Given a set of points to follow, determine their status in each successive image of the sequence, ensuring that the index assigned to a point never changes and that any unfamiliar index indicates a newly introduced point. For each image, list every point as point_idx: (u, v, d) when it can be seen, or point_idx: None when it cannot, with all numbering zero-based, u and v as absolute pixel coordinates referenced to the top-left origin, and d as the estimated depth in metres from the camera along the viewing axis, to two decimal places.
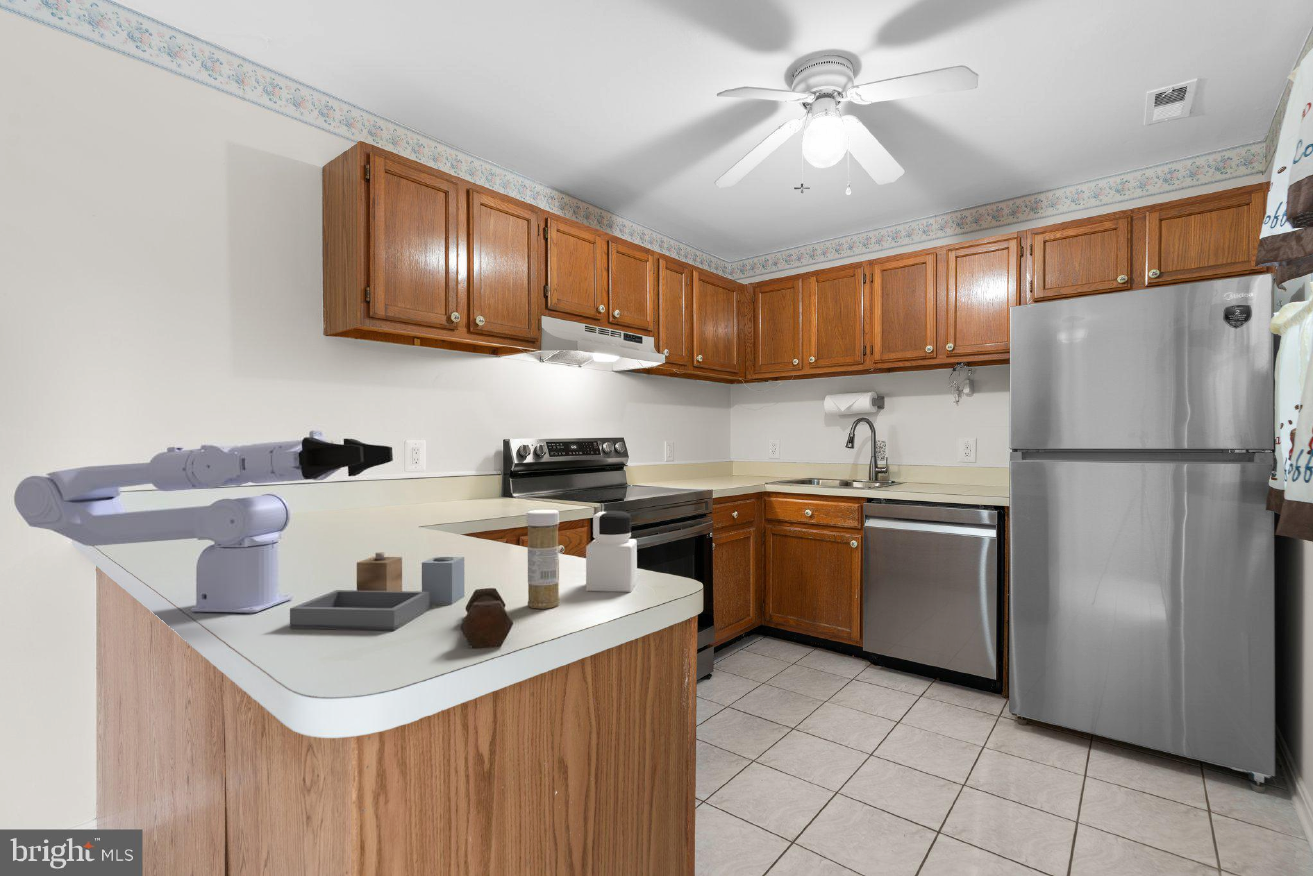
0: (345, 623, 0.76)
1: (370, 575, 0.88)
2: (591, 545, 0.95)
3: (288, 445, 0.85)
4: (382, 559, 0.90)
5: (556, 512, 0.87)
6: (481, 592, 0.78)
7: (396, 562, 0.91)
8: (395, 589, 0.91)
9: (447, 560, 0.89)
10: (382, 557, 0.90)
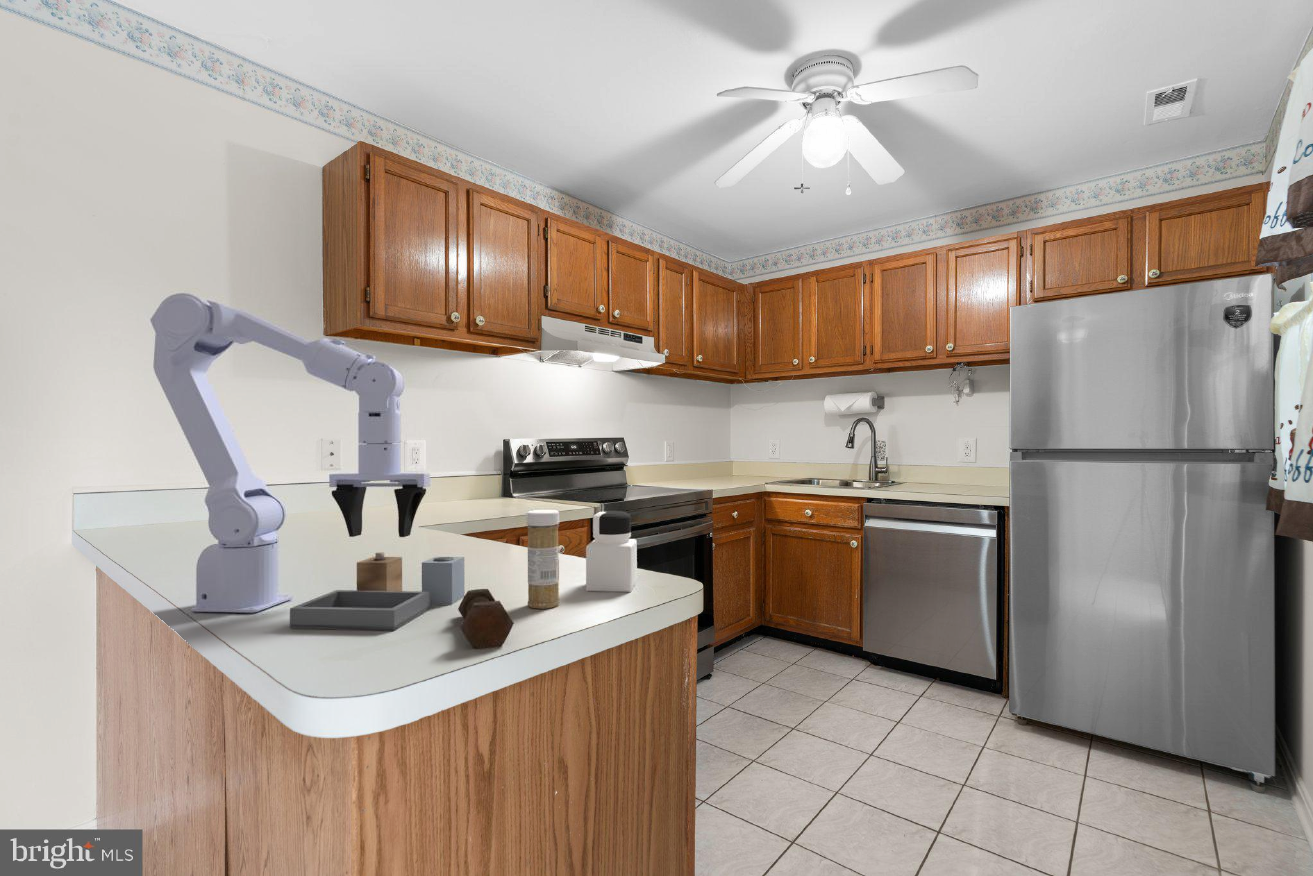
0: (345, 623, 0.76)
1: (370, 575, 0.88)
2: (591, 545, 0.95)
3: None
4: (382, 559, 0.90)
5: (556, 512, 0.87)
6: (475, 593, 0.78)
7: (396, 562, 0.91)
8: (395, 589, 0.91)
9: (447, 560, 0.89)
10: (382, 557, 0.90)
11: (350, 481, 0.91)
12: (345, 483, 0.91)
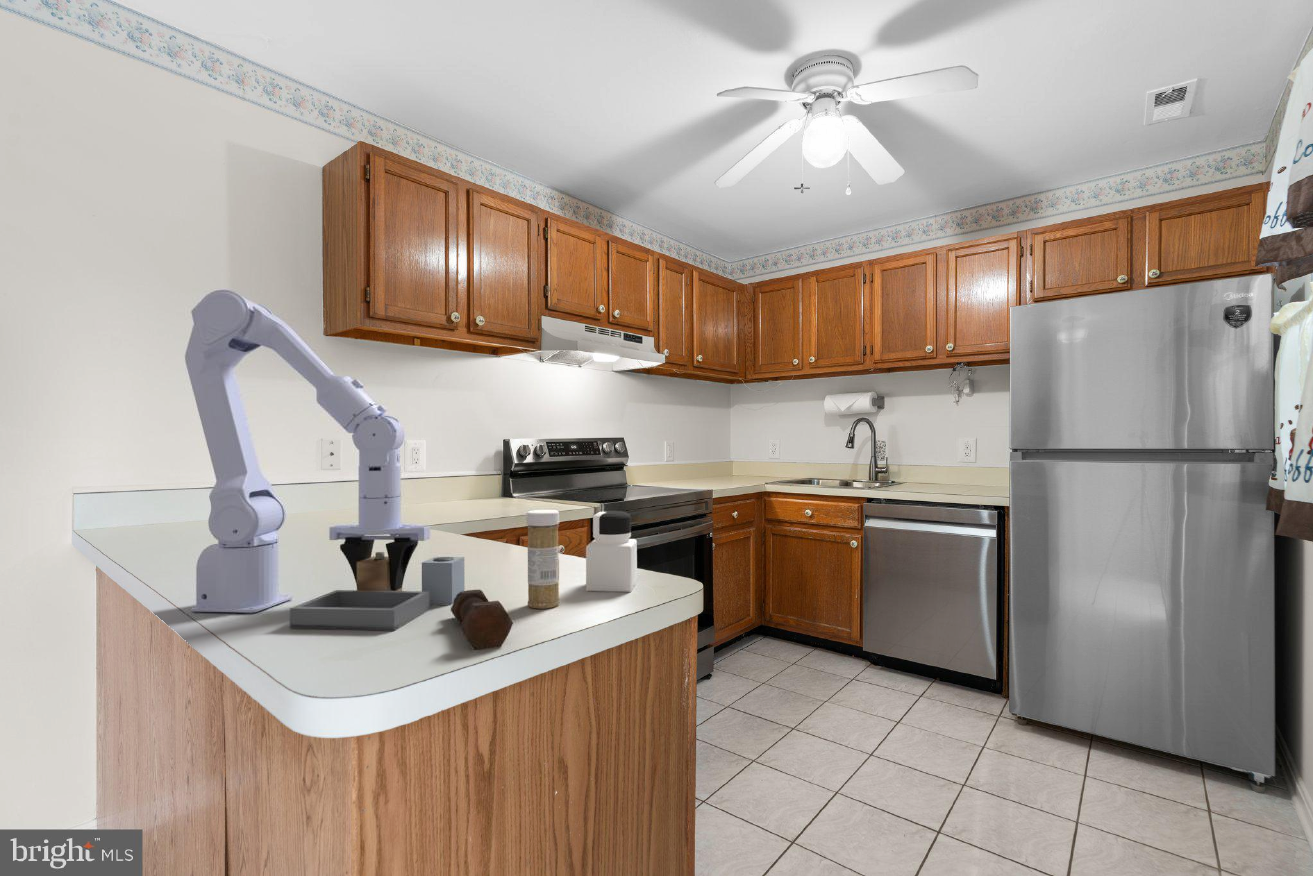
0: (345, 623, 0.76)
1: (370, 574, 0.88)
2: (591, 545, 0.95)
3: None
4: (382, 559, 0.90)
5: (556, 512, 0.87)
6: (468, 594, 0.77)
7: None
8: None
9: (447, 560, 0.89)
10: (382, 557, 0.90)
11: (350, 534, 0.91)
12: (345, 536, 0.91)
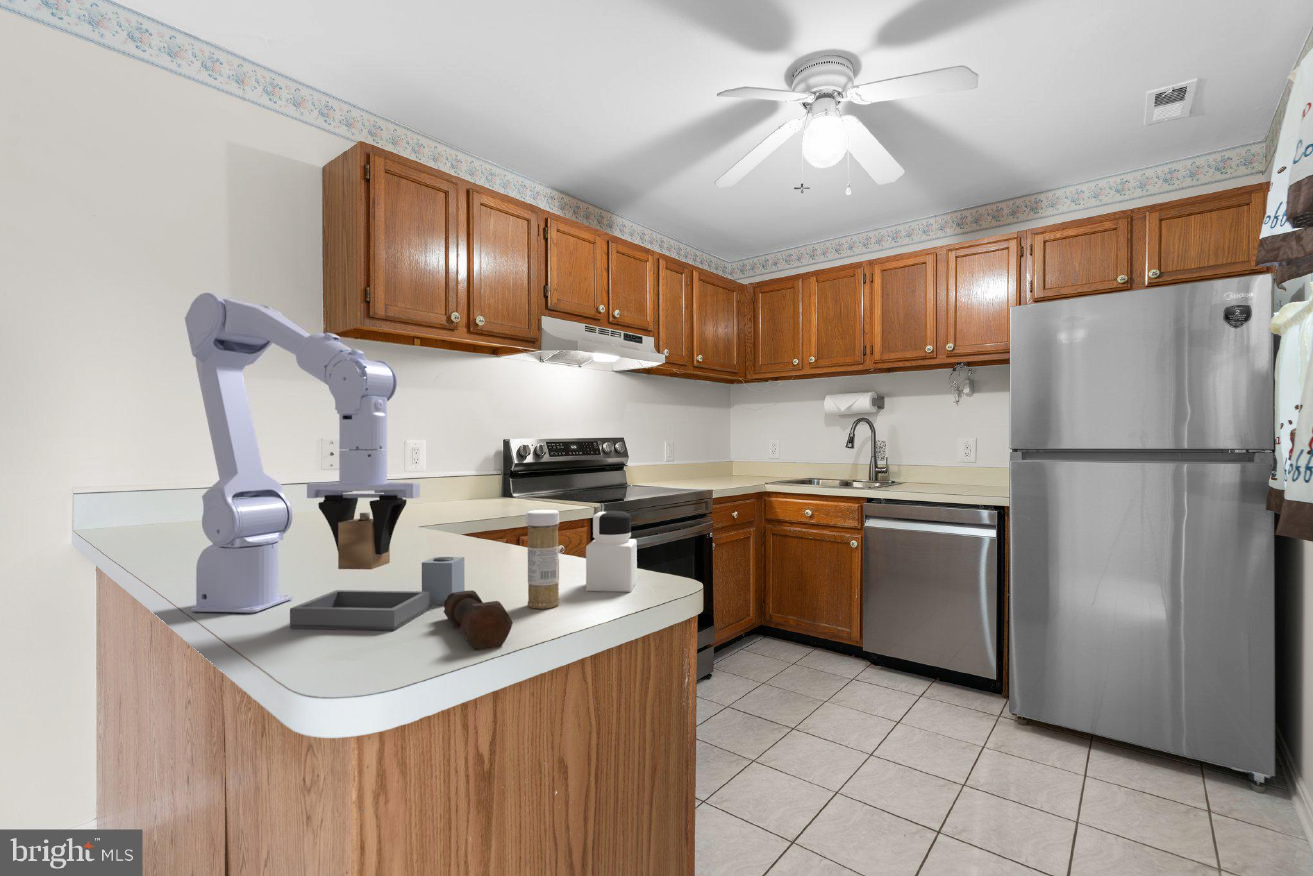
0: (345, 623, 0.76)
1: (354, 536, 0.79)
2: (591, 545, 0.95)
3: None
4: (367, 520, 0.81)
5: (556, 512, 0.87)
6: (462, 595, 0.77)
7: None
8: None
9: (447, 560, 0.89)
10: (367, 517, 0.81)
11: (330, 491, 0.81)
12: (324, 494, 0.81)
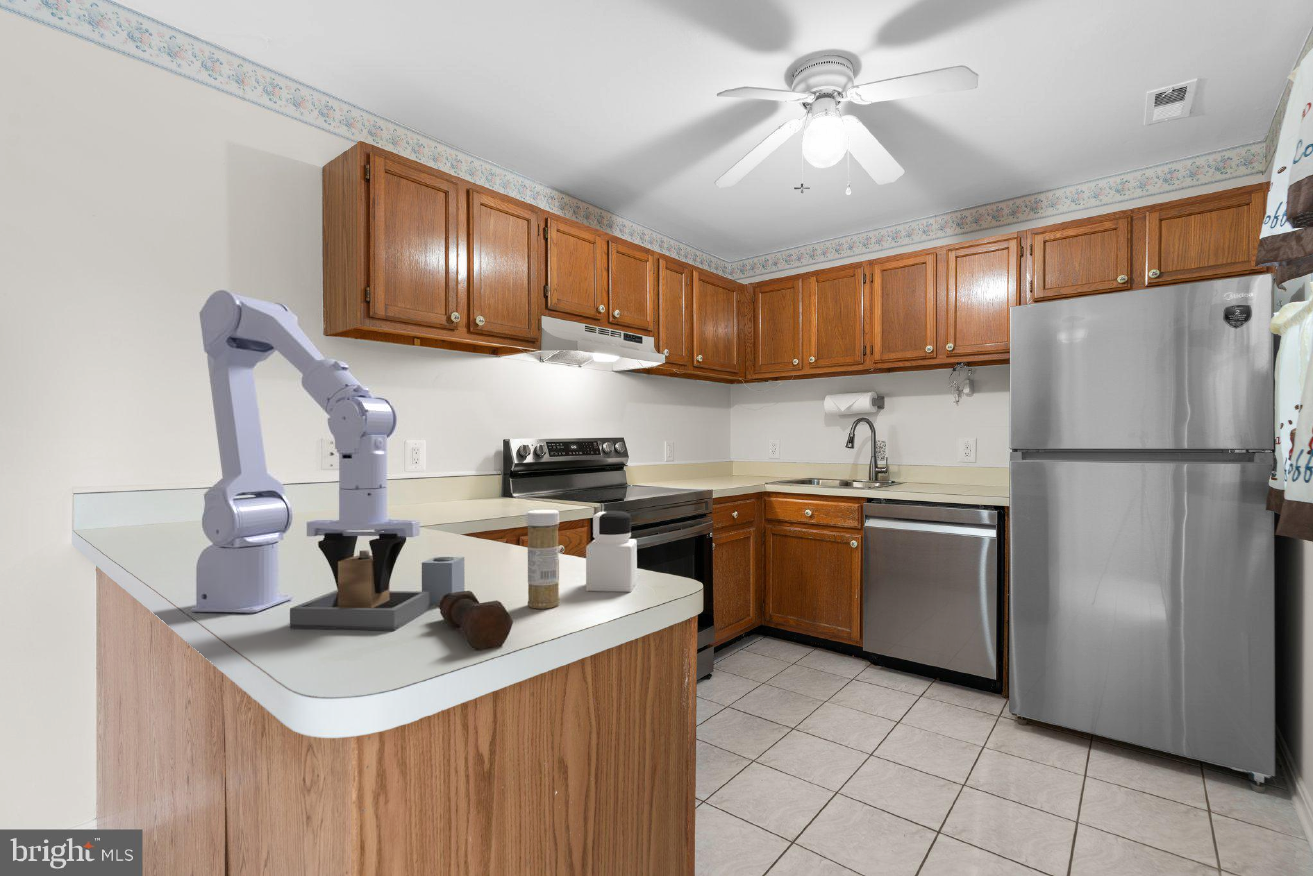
0: (345, 623, 0.76)
1: (353, 575, 0.79)
2: (591, 545, 0.95)
3: None
4: (367, 558, 0.81)
5: (556, 512, 0.87)
6: (459, 595, 0.77)
7: None
8: None
9: (447, 560, 0.89)
10: (367, 555, 0.81)
11: (330, 529, 0.81)
12: (324, 532, 0.81)
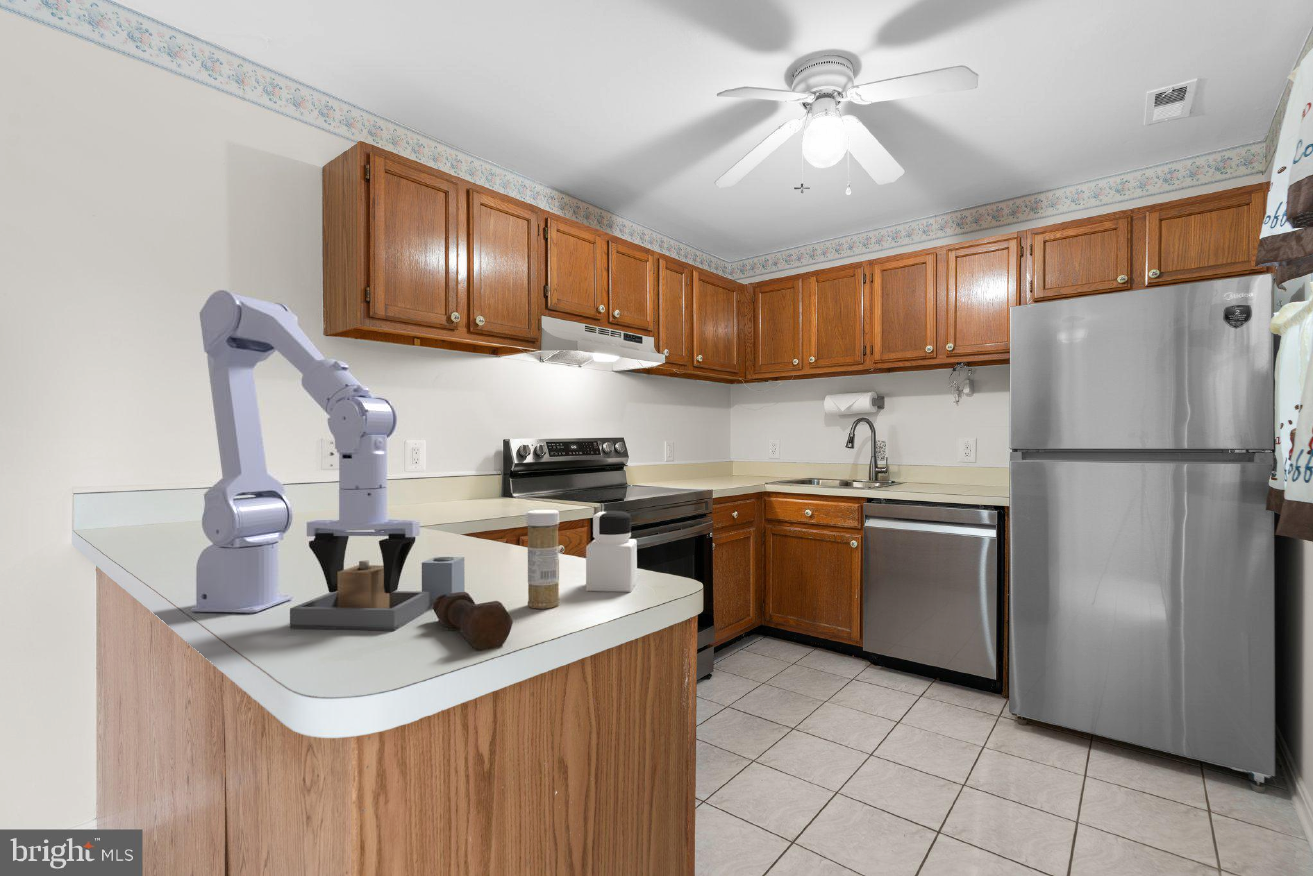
0: (345, 623, 0.76)
1: (353, 586, 0.79)
2: (591, 545, 0.95)
3: None
4: (366, 568, 0.81)
5: (556, 512, 0.87)
6: (455, 596, 0.76)
7: (382, 572, 0.82)
8: (381, 602, 0.81)
9: (447, 560, 0.89)
10: (366, 566, 0.81)
11: (330, 529, 0.81)
12: (324, 532, 0.81)
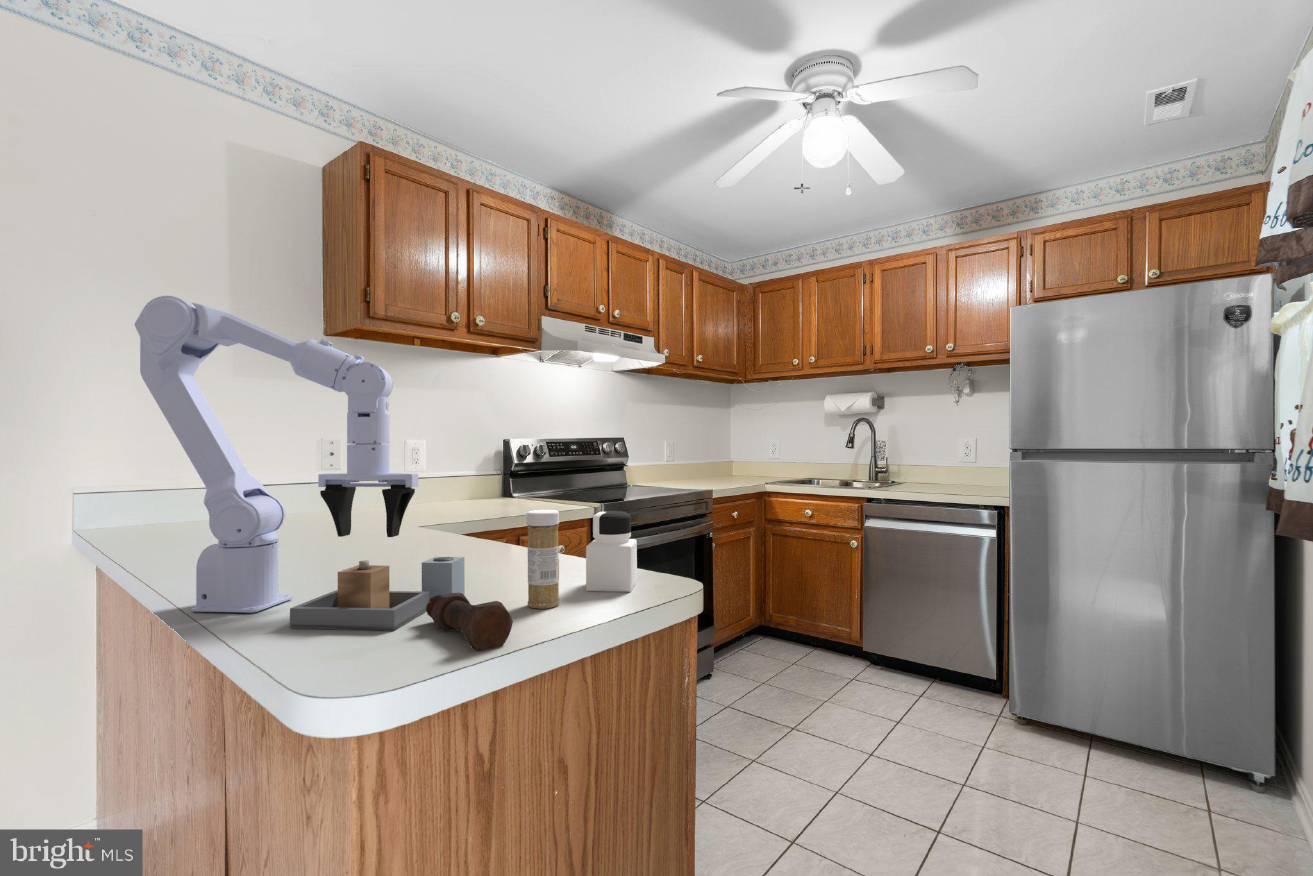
0: (345, 623, 0.76)
1: (353, 586, 0.79)
2: (591, 545, 0.95)
3: None
4: (366, 568, 0.81)
5: (556, 512, 0.87)
6: (450, 597, 0.76)
7: (382, 572, 0.82)
8: (381, 602, 0.81)
9: (447, 560, 0.89)
10: (366, 566, 0.81)
11: (339, 481, 0.91)
12: (334, 483, 0.91)
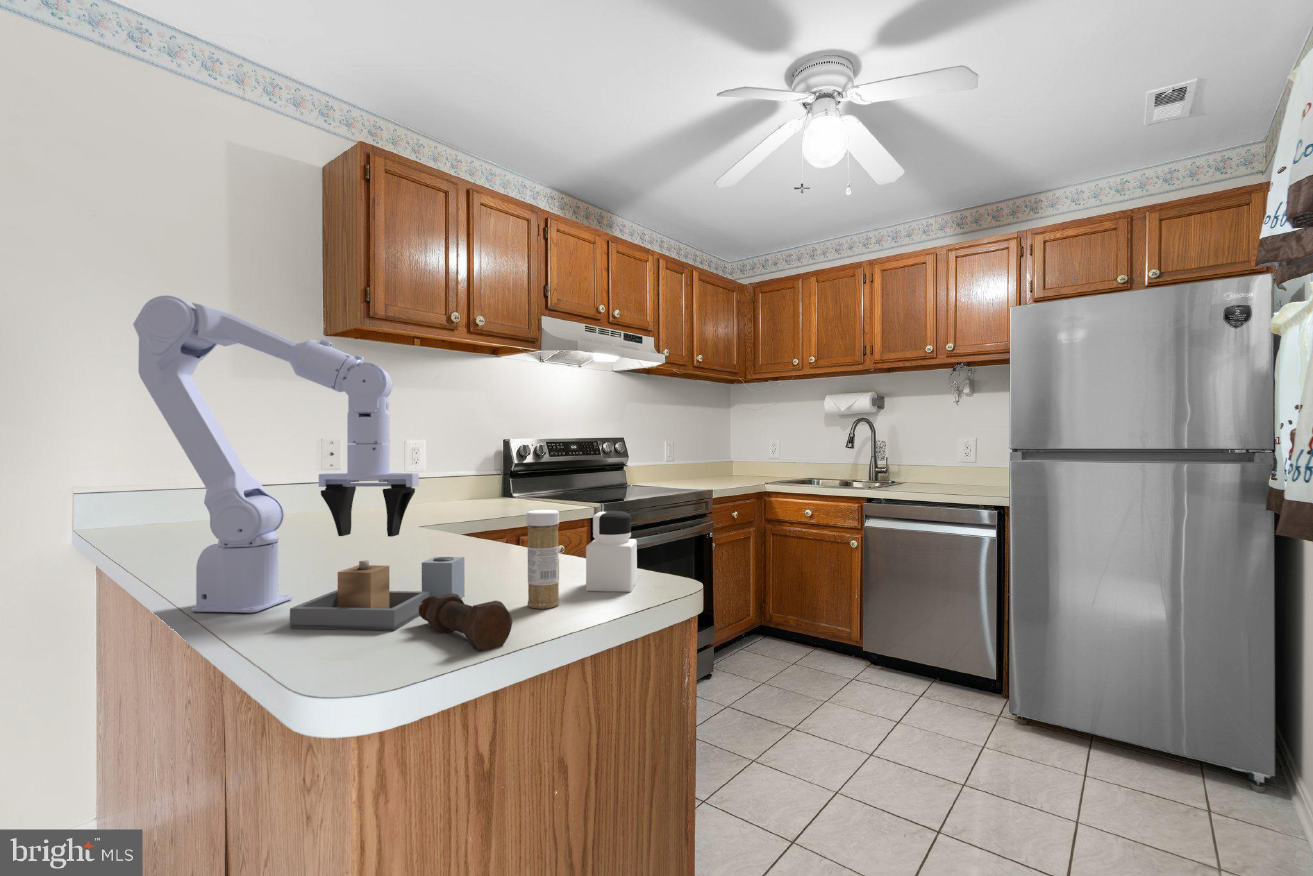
0: (345, 623, 0.76)
1: (353, 586, 0.79)
2: (591, 545, 0.95)
3: None
4: (366, 568, 0.81)
5: (556, 512, 0.87)
6: (445, 598, 0.75)
7: (382, 572, 0.82)
8: (381, 602, 0.81)
9: (447, 560, 0.89)
10: (366, 566, 0.81)
11: (339, 481, 0.92)
12: (334, 483, 0.92)
